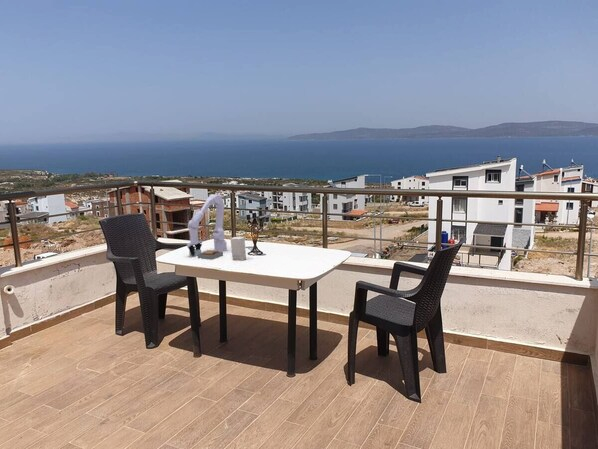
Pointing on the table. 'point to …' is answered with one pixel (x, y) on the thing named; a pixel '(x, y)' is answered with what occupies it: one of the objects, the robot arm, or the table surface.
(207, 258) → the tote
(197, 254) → the carton
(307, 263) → the table surface
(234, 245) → the skincare box
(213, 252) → the walnut block
